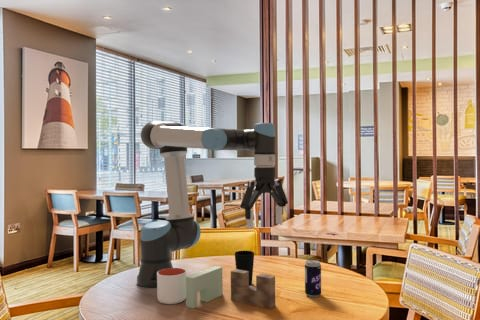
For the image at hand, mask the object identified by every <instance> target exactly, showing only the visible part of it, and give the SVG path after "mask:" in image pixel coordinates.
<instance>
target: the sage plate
mask: <svg viewBox="0 0 480 320" xmlns="http://www.w3.org/2000/svg"><path fill="white" fill-rule="evenodd" d="M223 289H224V288H223V266H218V265H214V266H212V267H209V268H206V269H203V270H201V271H198V272H196V273H192V274H189V275H188V276H187V275H186V299H185V300H186V302H185V303H186V305H185V306H186V307H187V308H189V309H195V308H198V292H199V300H200V302H205V303H208V302H211V301H212V300H215V299H217V298H218V297H220V296H223V295H224V293H223V292H224V291H223Z"/></svg>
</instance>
